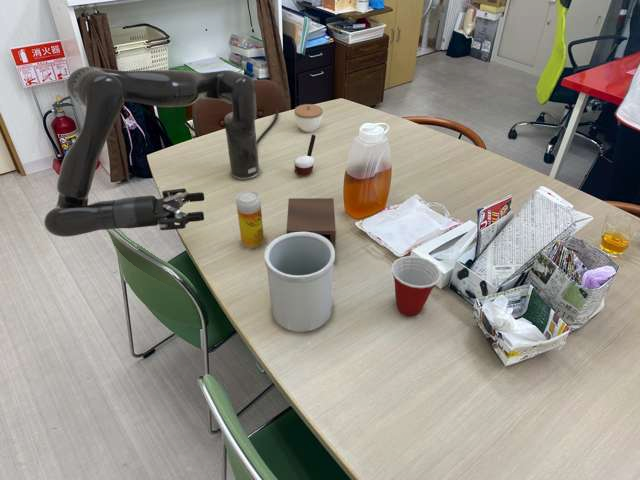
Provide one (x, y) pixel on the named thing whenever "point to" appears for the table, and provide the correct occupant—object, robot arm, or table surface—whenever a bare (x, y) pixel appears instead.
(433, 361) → the table surface
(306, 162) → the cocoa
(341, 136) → the table surface
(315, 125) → the trinket box
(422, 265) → the plastic cup
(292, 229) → the brown wood-grain cube
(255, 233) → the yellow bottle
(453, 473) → the table surface
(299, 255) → the utensil holder
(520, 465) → the table surface
